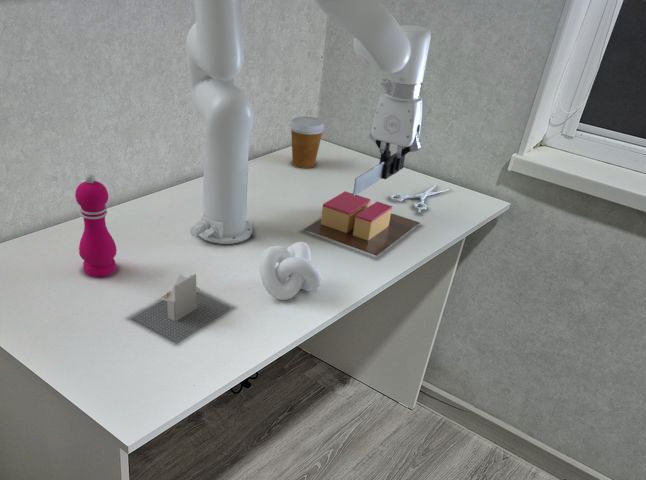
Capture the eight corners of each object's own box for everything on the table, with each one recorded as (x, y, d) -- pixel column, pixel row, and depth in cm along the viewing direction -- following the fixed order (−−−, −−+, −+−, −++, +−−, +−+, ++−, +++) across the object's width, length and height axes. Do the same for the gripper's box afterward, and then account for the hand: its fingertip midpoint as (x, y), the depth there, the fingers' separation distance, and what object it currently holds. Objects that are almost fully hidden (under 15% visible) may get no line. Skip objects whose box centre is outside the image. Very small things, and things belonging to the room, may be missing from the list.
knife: (357, 197, 140) (360, 180, 137) (349, 194, 141) (351, 177, 138) (402, 168, 154) (405, 151, 152) (394, 165, 155) (397, 149, 153)
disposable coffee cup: (282, 159, 185) (285, 116, 177) (313, 157, 187) (317, 115, 180) (293, 171, 177) (297, 127, 170) (325, 169, 180) (330, 126, 173)
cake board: (376, 259, 139) (377, 255, 139) (303, 232, 148) (303, 229, 147) (419, 225, 154) (420, 222, 153) (350, 203, 162) (351, 200, 162)
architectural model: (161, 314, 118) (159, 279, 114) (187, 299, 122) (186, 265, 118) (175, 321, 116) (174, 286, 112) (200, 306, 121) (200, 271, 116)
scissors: (384, 198, 164) (428, 178, 176) (384, 200, 164) (427, 181, 176) (419, 212, 158) (462, 191, 170) (418, 215, 159) (461, 194, 170)
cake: (346, 233, 147) (349, 212, 144) (320, 224, 150) (322, 203, 147) (367, 219, 153) (370, 199, 150) (342, 210, 157) (345, 191, 154)
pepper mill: (82, 280, 126) (70, 182, 114) (80, 262, 132) (68, 167, 120) (120, 277, 128) (111, 180, 116) (116, 259, 133) (107, 165, 121)
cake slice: (368, 240, 144) (371, 220, 141) (352, 235, 146) (355, 214, 143) (388, 226, 151) (392, 206, 148) (373, 221, 153) (377, 201, 150)
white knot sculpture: (276, 313, 120) (280, 271, 115) (245, 283, 128) (246, 242, 123) (326, 298, 125) (331, 258, 120) (292, 271, 133) (296, 231, 128)
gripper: (362, 85, 141) (351, 166, 152) (430, 100, 134) (413, 184, 145) (378, 78, 146) (367, 158, 157) (444, 93, 139) (427, 175, 150)
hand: (389, 170), depth 151 cm, fingers closed on knife, 2 cm apart
